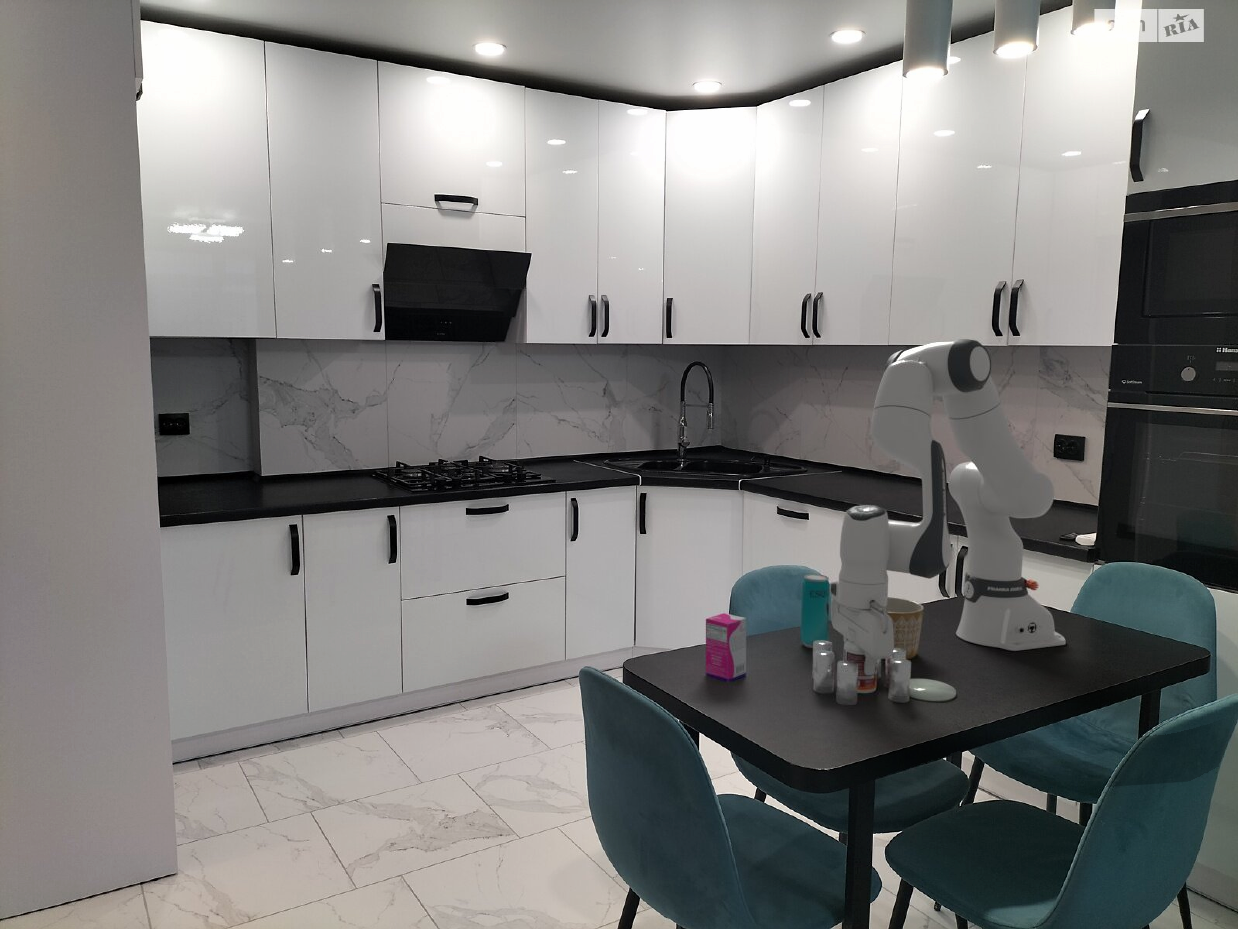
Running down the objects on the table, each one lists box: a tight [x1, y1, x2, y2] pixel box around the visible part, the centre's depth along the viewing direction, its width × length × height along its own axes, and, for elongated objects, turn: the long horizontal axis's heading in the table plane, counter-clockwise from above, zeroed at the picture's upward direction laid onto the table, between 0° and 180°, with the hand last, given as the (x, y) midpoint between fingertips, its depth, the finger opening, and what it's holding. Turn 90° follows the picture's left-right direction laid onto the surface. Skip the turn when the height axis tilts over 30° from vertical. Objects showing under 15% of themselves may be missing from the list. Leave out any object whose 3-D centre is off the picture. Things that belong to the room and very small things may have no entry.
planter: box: [885, 596, 925, 660], centre depth 189 cm, size 13×13×10 cm
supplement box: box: [705, 612, 747, 683], centre depth 175 cm, size 6×6×12 cm
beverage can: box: [800, 573, 831, 649], centre depth 194 cm, size 6×6×15 cm
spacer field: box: [811, 640, 912, 706], centre depth 168 cm, size 18×16×7 cm
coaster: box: [909, 678, 957, 702], centre depth 168 cm, size 10×10×1 cm
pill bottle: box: [842, 627, 878, 694], centre depth 168 cm, size 6×6×11 cm
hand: (859, 666), depth 168 cm, fingers closed on pill bottle, 6 cm apart
